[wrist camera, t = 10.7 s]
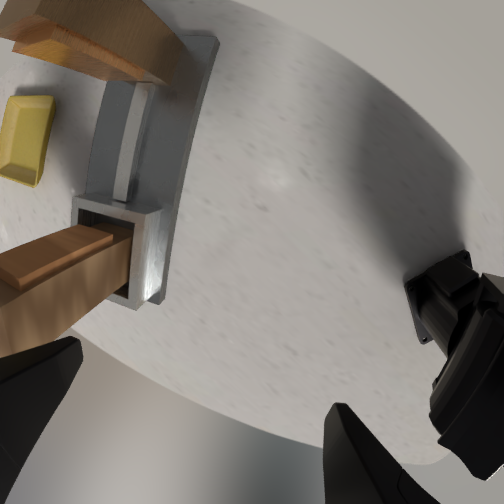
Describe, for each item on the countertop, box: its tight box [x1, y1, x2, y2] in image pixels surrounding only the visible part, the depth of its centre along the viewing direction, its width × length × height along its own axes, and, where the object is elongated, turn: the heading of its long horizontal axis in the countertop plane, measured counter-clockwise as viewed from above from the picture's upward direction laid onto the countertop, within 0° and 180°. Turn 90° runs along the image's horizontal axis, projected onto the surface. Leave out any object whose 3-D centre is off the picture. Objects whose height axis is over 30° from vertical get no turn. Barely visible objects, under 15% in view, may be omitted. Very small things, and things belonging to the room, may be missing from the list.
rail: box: [0, 0, 220, 311], centre depth 13 cm, size 20×8×14 cm, turn 167°
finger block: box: [0, 222, 134, 358], centre depth 14 cm, size 4×4×13 cm
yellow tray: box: [0, 95, 56, 188], centre depth 19 cm, size 9×9×2 cm
